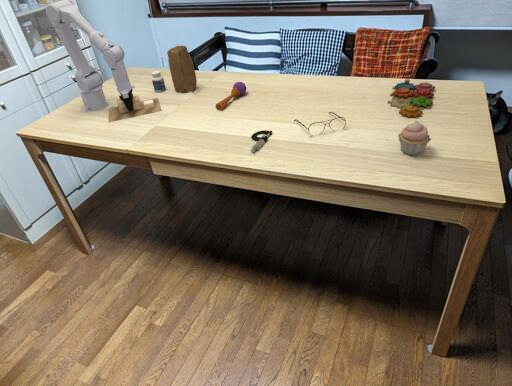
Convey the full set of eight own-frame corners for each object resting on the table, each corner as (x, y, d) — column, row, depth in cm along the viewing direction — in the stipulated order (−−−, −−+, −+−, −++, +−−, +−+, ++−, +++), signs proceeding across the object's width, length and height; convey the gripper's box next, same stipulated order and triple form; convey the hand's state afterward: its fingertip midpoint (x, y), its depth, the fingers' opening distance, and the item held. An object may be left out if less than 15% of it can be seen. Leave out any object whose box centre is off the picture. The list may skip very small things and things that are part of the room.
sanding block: (121, 114, 157) (117, 103, 154) (120, 110, 161) (117, 99, 158) (142, 109, 159) (139, 98, 156) (141, 105, 163) (138, 95, 160)
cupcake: (420, 141, 118) (426, 112, 112) (433, 156, 111) (439, 126, 105) (391, 144, 118) (395, 115, 112) (401, 159, 111) (406, 130, 105)
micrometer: (257, 131, 136) (256, 125, 134) (274, 134, 133) (274, 127, 131) (236, 151, 125) (235, 144, 124) (255, 154, 122) (254, 148, 121)
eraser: (145, 108, 160) (144, 104, 158) (144, 105, 163) (143, 101, 161) (154, 106, 160) (153, 102, 159) (153, 103, 163) (152, 99, 162)
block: (186, 96, 170) (176, 51, 158) (173, 94, 173) (163, 50, 161) (200, 87, 177) (192, 44, 165) (188, 85, 180) (179, 43, 168)
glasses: (308, 138, 128) (307, 124, 125) (293, 125, 141) (292, 112, 138) (346, 129, 130) (346, 116, 128) (328, 117, 143) (328, 105, 140)
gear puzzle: (430, 122, 129) (432, 111, 126) (382, 117, 135) (383, 107, 132) (434, 88, 151) (436, 78, 149) (393, 85, 157) (394, 76, 155)
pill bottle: (165, 94, 174) (160, 73, 168) (154, 95, 175) (148, 74, 169) (167, 89, 179) (162, 69, 173) (156, 90, 179) (151, 70, 173)
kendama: (210, 101, 152) (235, 80, 165) (215, 114, 156) (239, 92, 168) (222, 100, 149) (246, 78, 161) (227, 113, 152) (250, 91, 165)
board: (109, 124, 153) (108, 122, 152) (109, 110, 165) (108, 108, 164) (162, 113, 157) (161, 110, 156) (158, 99, 169) (158, 97, 169)
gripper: (131, 80, 147) (141, 112, 155) (130, 70, 158) (139, 100, 166) (113, 84, 145) (124, 116, 153) (113, 73, 156) (123, 103, 165)
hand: (130, 108), depth 160 cm, fingers closed on sanding block, 4 cm apart
